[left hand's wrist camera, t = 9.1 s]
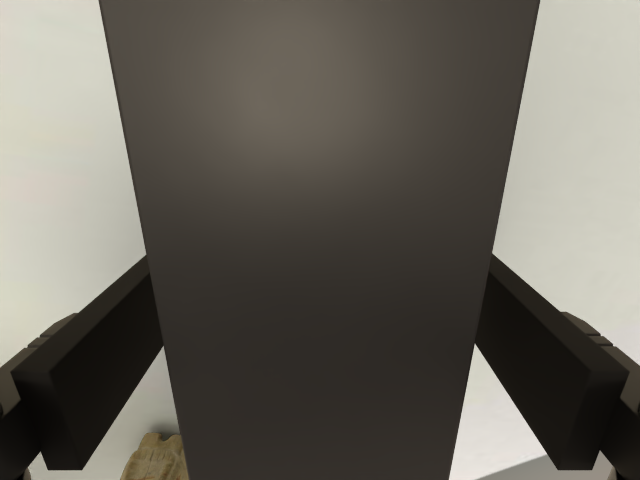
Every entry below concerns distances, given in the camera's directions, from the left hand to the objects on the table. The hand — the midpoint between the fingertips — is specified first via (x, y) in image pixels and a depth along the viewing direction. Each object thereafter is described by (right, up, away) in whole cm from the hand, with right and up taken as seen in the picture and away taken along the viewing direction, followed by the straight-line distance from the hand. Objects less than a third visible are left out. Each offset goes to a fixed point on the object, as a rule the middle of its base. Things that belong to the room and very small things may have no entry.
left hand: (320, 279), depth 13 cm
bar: (0, +8, -1) cm, 8 cm away
